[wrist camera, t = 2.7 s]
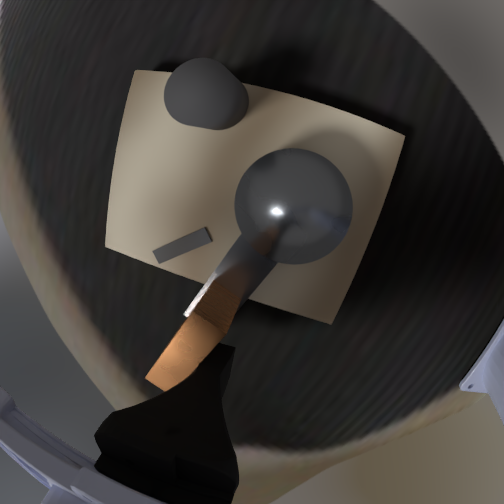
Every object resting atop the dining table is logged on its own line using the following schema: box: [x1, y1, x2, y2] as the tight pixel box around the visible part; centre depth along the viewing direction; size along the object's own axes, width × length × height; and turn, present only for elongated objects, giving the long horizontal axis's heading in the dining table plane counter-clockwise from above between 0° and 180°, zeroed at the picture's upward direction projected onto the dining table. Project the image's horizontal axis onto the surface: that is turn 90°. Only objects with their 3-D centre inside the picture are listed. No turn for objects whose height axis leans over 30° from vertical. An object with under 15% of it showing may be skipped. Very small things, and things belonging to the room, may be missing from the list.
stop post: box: [164, 58, 249, 130], centre depth 9 cm, size 2×2×3 cm
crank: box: [145, 148, 353, 391], centre depth 11 cm, size 12×4×3 cm, turn 145°
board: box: [105, 70, 405, 324], centre depth 12 cm, size 12×9×1 cm
